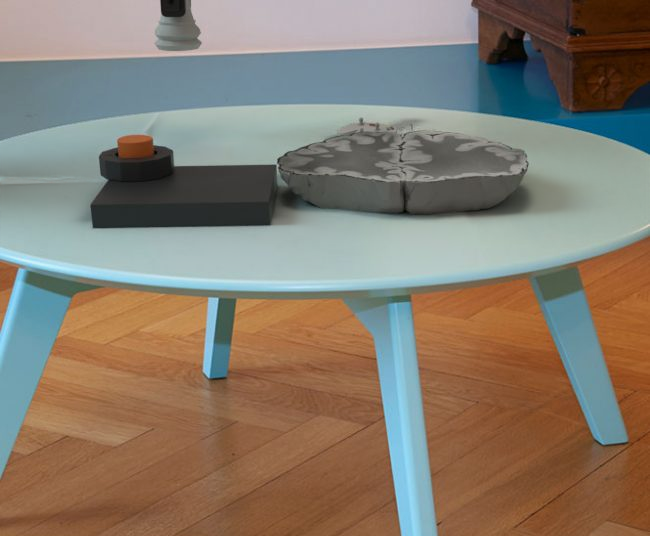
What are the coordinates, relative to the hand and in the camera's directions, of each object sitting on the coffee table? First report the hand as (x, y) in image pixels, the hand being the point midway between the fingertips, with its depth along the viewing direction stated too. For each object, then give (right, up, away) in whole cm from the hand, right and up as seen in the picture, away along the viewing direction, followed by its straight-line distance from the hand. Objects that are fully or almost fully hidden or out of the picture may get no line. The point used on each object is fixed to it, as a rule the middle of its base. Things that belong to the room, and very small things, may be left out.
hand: (176, 13), depth 105 cm
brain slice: (+20, -18, -13) cm, 30 cm away
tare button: (-1, -16, -15) cm, 21 cm away
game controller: (+19, -12, +2) cm, 23 cm away
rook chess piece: (0, -3, +1) cm, 3 cm away
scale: (+3, -20, -17) cm, 26 cm away
